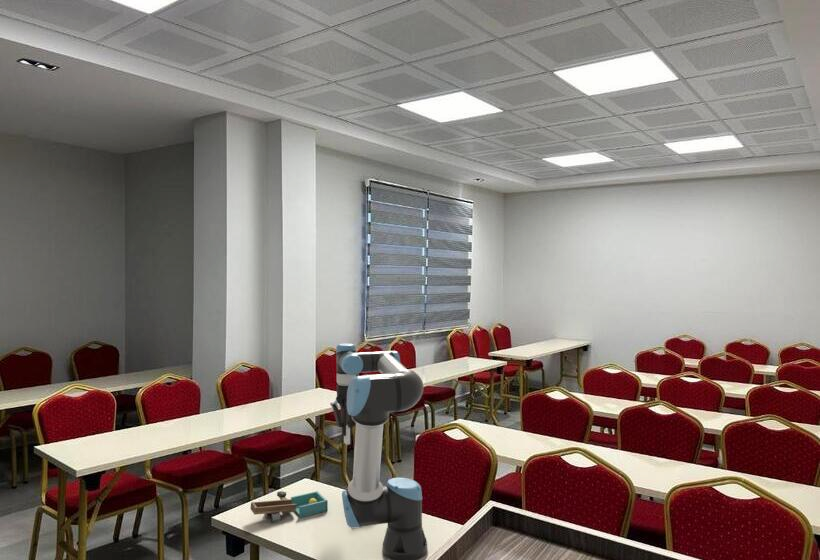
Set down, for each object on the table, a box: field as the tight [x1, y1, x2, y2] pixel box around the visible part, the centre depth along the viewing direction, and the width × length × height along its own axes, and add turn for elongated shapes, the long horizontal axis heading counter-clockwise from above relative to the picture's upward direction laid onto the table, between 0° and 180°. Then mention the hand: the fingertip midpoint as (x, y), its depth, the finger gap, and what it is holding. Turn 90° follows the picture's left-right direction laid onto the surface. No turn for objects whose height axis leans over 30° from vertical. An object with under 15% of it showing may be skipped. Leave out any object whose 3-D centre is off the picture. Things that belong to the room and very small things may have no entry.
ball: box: [309, 498, 317, 504], centre depth 221 cm, size 3×3×3 cm
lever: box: [249, 491, 297, 516], centre depth 218 cm, size 17×17×4 cm
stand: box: [264, 512, 283, 524], centre depth 213 cm, size 10×4×3 cm, turn 31°
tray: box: [290, 490, 329, 518], centre depth 220 cm, size 11×11×4 cm
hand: (347, 443), depth 218 cm, fingers closed
